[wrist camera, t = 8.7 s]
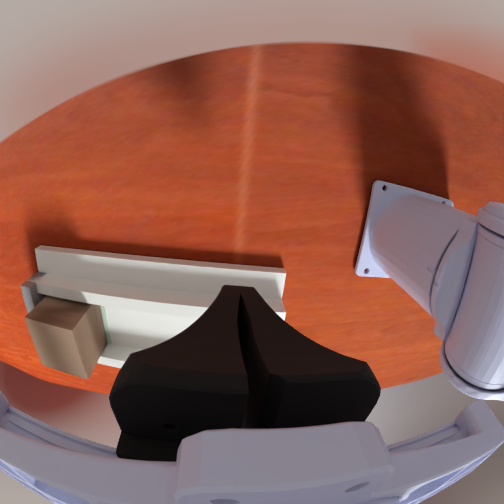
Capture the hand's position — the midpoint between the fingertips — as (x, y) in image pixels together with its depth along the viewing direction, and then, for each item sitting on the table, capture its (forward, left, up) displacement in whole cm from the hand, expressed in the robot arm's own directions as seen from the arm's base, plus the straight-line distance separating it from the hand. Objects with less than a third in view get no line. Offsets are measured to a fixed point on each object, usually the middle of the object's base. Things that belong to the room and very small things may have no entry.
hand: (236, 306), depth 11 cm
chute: (+7, +8, -9) cm, 14 cm away
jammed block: (+14, +8, -8) cm, 18 cm away
